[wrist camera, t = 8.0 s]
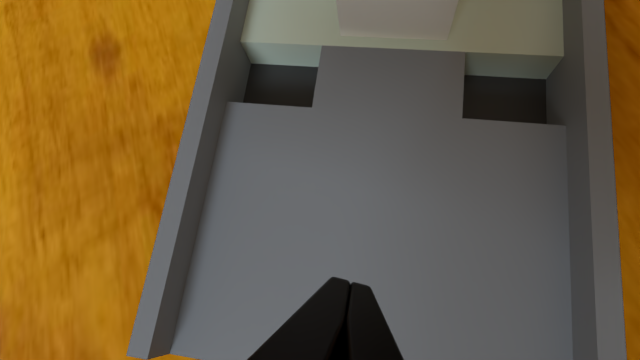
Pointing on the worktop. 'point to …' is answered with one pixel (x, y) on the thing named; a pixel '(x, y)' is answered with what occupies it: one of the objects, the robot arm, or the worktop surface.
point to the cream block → (396, 18)
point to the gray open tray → (395, 184)
